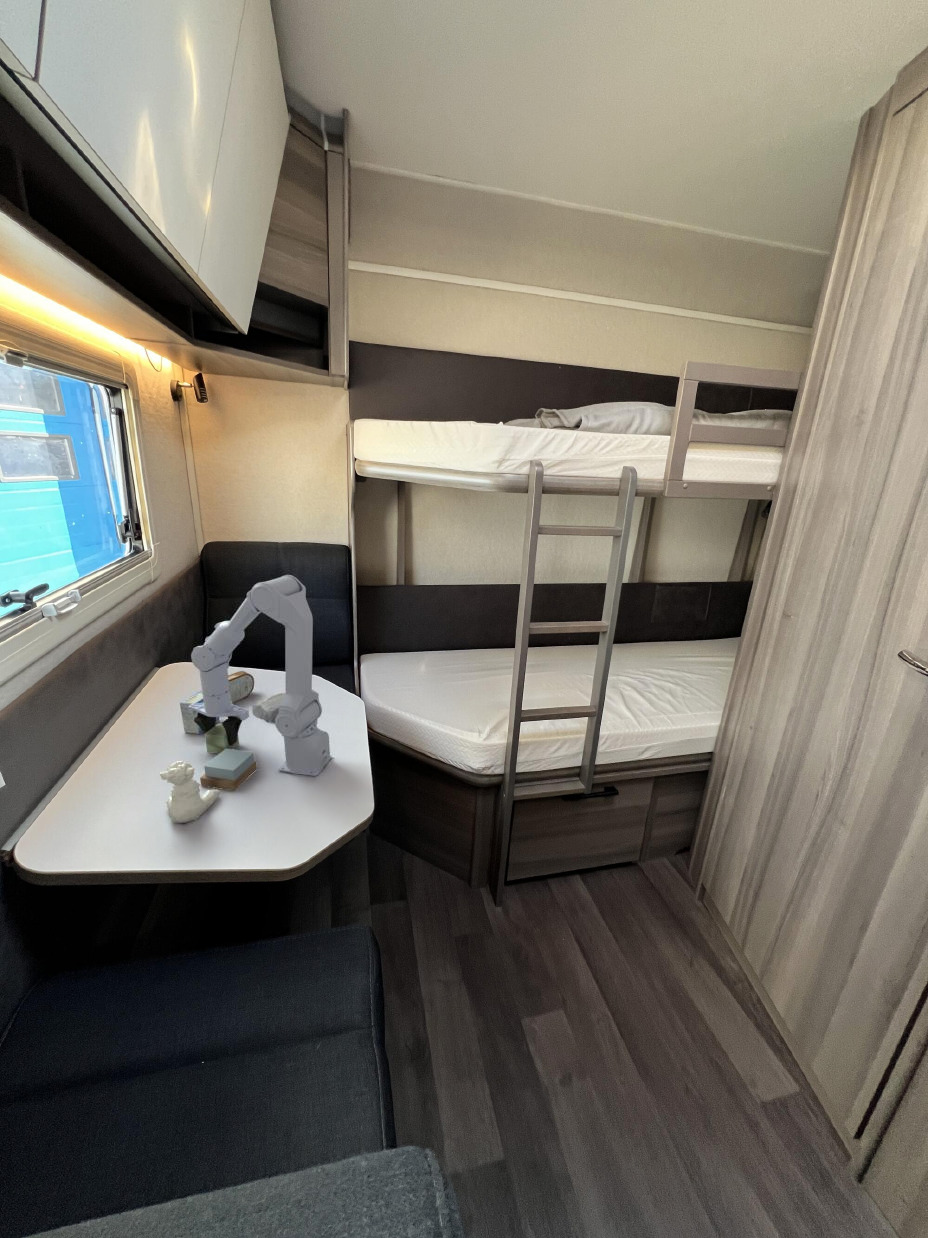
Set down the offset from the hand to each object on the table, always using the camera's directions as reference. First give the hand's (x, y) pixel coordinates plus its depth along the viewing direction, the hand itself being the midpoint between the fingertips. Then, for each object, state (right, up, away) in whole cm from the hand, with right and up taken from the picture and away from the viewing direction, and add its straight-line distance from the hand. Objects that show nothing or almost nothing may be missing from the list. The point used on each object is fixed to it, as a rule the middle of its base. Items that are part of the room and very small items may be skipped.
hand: (222, 741), depth 113 cm
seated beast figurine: (+5, -8, -21) cm, 24 cm away
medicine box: (-11, +1, +10) cm, 15 cm away
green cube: (0, -2, 0) cm, 2 cm away
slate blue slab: (+7, -3, -11) cm, 13 cm away
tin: (-9, +5, +23) cm, 26 cm away
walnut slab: (+7, -6, -10) cm, 14 cm away
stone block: (+5, +3, +20) cm, 21 cm away
